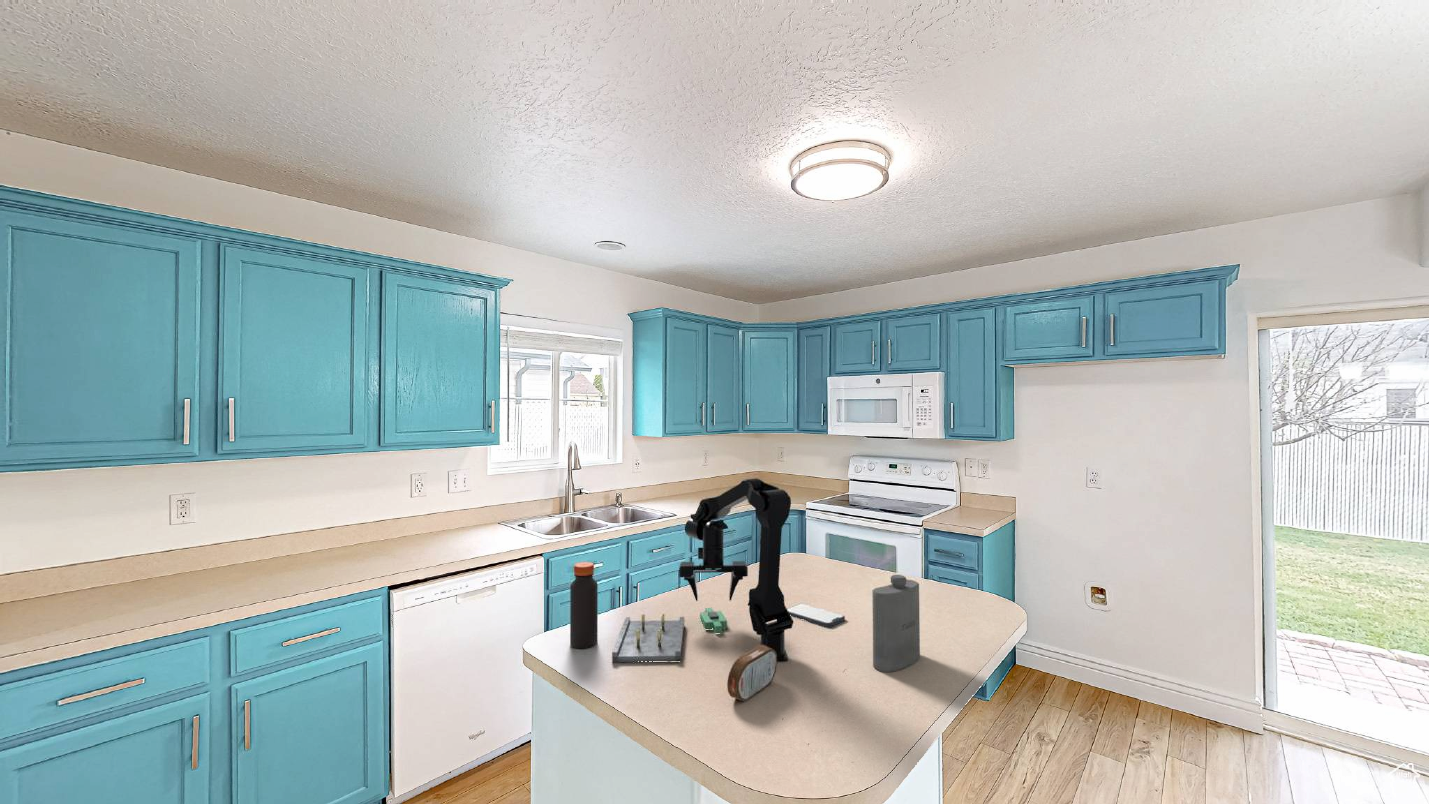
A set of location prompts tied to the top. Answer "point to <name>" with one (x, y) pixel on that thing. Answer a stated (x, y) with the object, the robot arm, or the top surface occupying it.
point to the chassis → (649, 641)
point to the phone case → (816, 615)
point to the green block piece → (713, 620)
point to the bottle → (583, 607)
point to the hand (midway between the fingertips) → (713, 600)
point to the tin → (752, 672)
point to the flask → (896, 624)
